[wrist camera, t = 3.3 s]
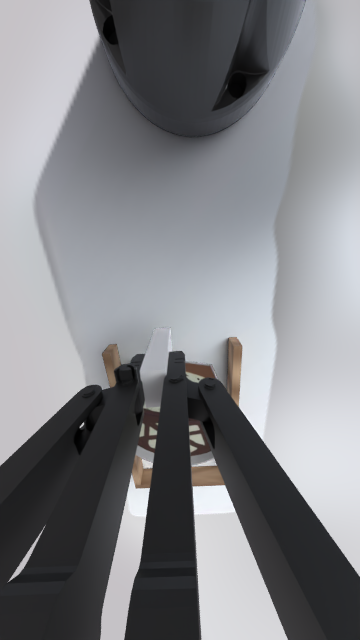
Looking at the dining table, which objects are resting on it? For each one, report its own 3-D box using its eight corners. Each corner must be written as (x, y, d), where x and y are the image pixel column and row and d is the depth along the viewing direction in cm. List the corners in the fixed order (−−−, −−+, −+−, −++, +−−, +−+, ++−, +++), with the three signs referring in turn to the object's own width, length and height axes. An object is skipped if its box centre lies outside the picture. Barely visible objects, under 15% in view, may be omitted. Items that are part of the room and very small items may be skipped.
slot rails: (109, 344, 24) (95, 362, 20) (236, 337, 23) (247, 353, 19) (138, 472, 33) (133, 501, 29) (230, 468, 33) (236, 498, 29)
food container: (132, 389, 27) (105, 463, 17) (134, 354, 24) (105, 416, 15) (212, 399, 27) (229, 476, 18) (221, 365, 25) (246, 432, 16)
